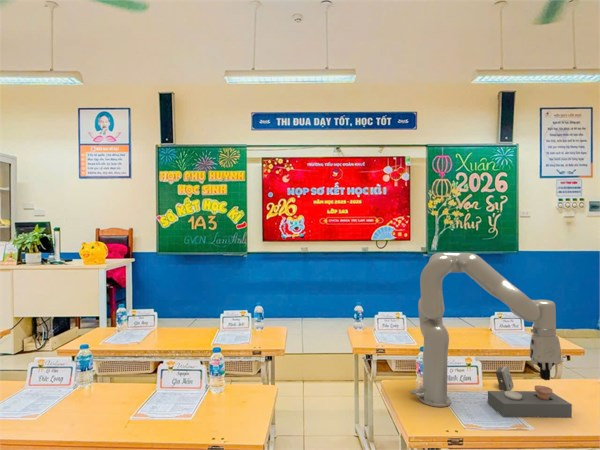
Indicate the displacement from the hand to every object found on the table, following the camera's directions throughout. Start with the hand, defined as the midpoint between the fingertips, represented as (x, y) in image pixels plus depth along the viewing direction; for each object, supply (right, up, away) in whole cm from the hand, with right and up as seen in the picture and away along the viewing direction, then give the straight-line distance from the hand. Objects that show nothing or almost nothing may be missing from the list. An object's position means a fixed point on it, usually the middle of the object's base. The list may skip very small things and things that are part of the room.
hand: (545, 379), depth 155 cm
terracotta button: (-1, -9, 0) cm, 9 cm away
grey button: (-13, -11, 0) cm, 17 cm away
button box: (-7, -12, 0) cm, 14 cm away
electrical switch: (-5, -13, +22) cm, 26 cm away
